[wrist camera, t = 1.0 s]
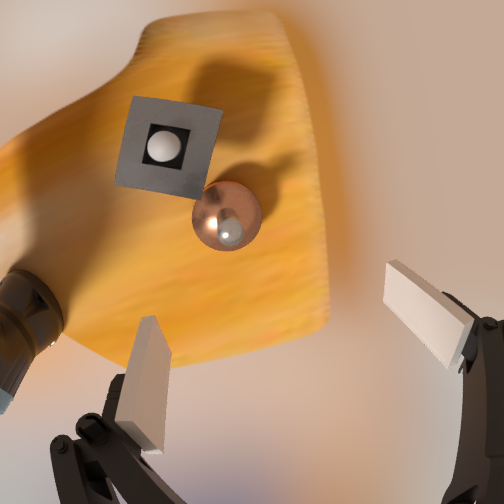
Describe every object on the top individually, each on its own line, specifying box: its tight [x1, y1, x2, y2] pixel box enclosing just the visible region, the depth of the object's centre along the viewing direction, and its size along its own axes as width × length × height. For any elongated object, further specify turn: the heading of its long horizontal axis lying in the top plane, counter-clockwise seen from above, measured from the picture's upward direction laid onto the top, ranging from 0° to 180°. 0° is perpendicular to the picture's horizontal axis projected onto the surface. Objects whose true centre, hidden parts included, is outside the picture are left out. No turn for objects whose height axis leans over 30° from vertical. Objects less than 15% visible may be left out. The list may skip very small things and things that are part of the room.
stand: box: [147, 125, 190, 168], centre depth 26 cm, size 6×6×10 cm
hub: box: [192, 180, 262, 251], centre depth 31 cm, size 8×8×9 cm
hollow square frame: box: [114, 96, 224, 200], centre depth 24 cm, size 9×9×2 cm
